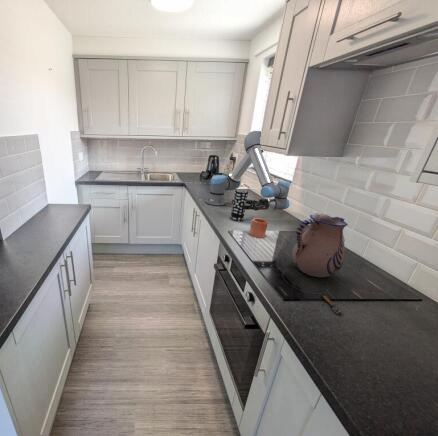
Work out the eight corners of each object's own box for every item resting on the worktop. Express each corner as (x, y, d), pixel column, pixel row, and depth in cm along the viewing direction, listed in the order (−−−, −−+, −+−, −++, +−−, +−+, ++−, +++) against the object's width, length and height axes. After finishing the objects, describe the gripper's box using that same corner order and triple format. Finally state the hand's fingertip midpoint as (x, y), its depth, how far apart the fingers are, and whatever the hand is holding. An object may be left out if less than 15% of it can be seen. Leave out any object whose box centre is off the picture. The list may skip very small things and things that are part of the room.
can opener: (321, 297, 84) (322, 294, 84) (328, 297, 84) (329, 295, 84) (335, 315, 76) (337, 312, 76) (343, 316, 76) (344, 313, 75)
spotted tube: (244, 221, 156) (250, 193, 149) (232, 221, 156) (237, 192, 149) (240, 217, 164) (245, 190, 157) (228, 217, 164) (233, 189, 157)
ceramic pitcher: (347, 279, 95) (369, 224, 86) (309, 288, 89) (329, 229, 80) (307, 258, 111) (323, 209, 102) (273, 265, 105) (286, 213, 96)
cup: (250, 230, 142) (253, 217, 138) (265, 234, 137) (268, 220, 134) (248, 235, 135) (251, 221, 132) (263, 239, 131) (267, 224, 128)
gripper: (276, 215, 148) (245, 215, 146) (254, 204, 171) (228, 204, 169) (279, 204, 146) (247, 204, 143) (256, 194, 169) (229, 194, 166)
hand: (237, 204), depth 156 cm, fingers open, 13 cm apart
